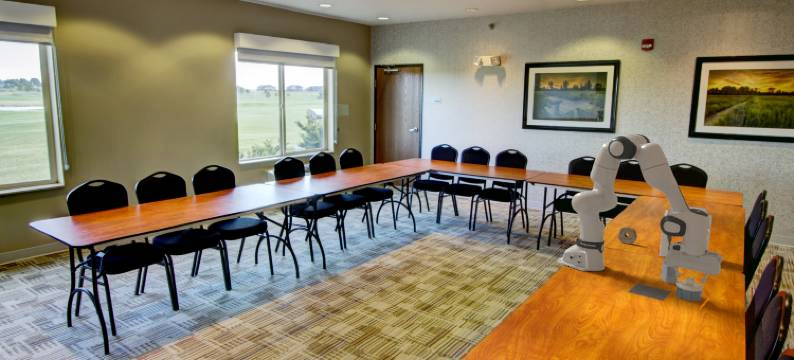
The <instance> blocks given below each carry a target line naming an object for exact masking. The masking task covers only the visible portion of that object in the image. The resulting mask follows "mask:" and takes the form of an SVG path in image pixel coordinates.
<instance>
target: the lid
mask: <svg viewBox="0 0 794 360" xmlns="http://www.w3.org/2000/svg"><path fill="white" fill-rule="evenodd" d="M675 286H676V288H677V287H678V288H681V289H683V290H687V291H694V292H699V291H702V292H703V291H704V285H702V284H701V283H698V282H695V277H691V276H687V277H686V279H685V280H679V281H678V280H677V281H676V284H675Z"/></svg>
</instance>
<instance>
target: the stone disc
mask: <svg viewBox="0 0 794 360" xmlns="http://www.w3.org/2000/svg"><path fill="white" fill-rule="evenodd" d="M627 234H628V235H627ZM637 236H638V235H637V231H636V229H635V228H633V227H630V226H623V227H620V229H619V231H618V234H617V239H618V240H619V241H620V243H623V244H626V245H632V244H634V243H635V242H636V241H637V238H638V237H637Z"/></svg>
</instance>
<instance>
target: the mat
mask: <svg viewBox="0 0 794 360" xmlns="http://www.w3.org/2000/svg"><path fill="white" fill-rule="evenodd" d="M627 292H628V293H631V294H635V295H640V296H643V297H647V298H650V299H655V300H657V301H658V300H660V301H664V299H666V298H667V297H668V296H669V295H670V294H671V293H672V290H669V289H663V288H659V287H655V286H652V285H651V286H650V285H647V284H644V283H643V284H642V283H636V284H635V285H634V286H633V287H632V288H630V289H629V290H628V291H627Z"/></svg>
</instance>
